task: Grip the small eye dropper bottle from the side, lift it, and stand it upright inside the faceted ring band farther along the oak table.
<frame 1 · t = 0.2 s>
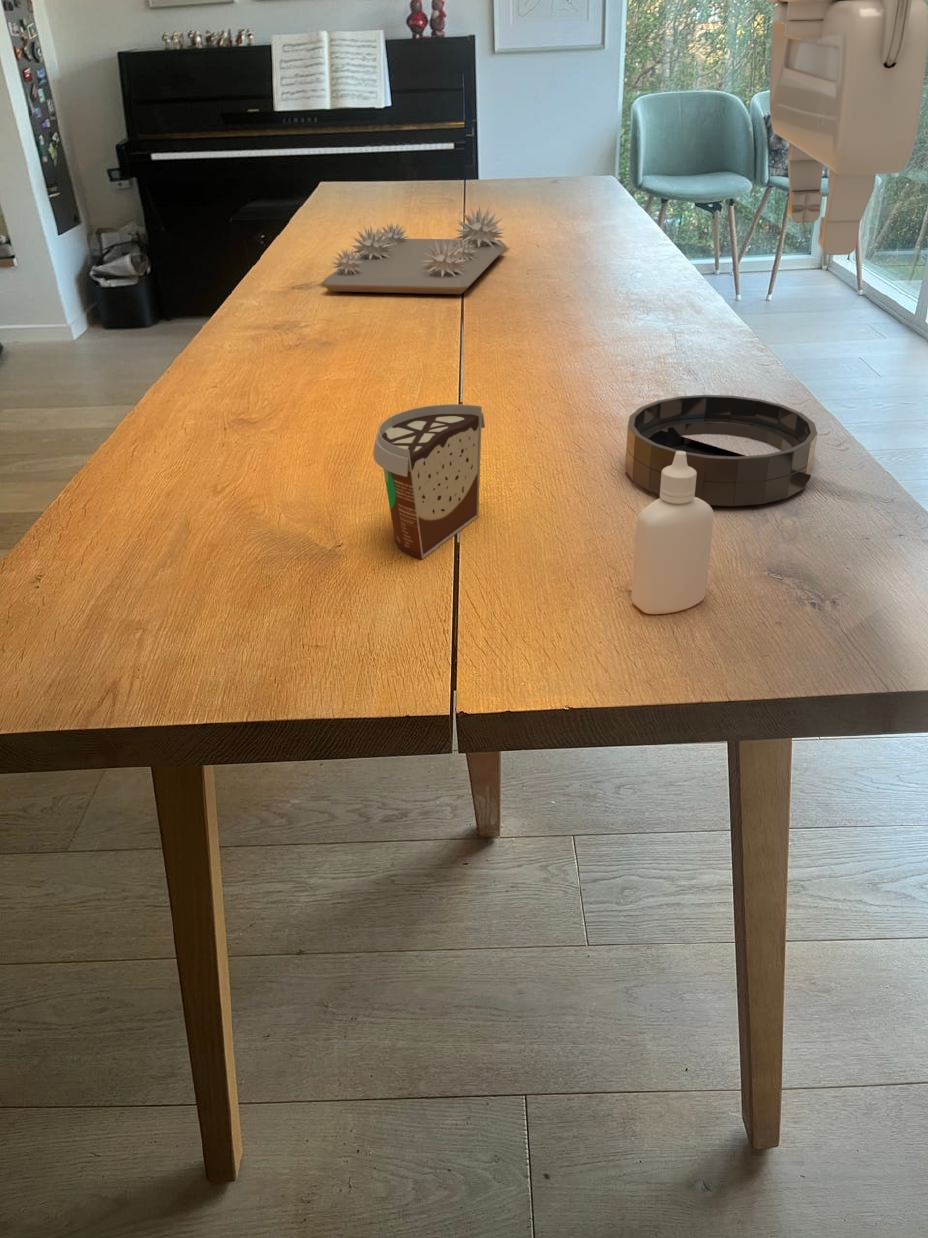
hand: (817, 235, 59), 26 cm above the table, tool pointing down, fingers open, 8 cm apart
faceted ring band: (715, 473, 95), on the table
eye dropper bottle: (667, 604, 75), on the table
food container: (421, 532, 87), on the table
decorative tray: (422, 275, 177), on the table
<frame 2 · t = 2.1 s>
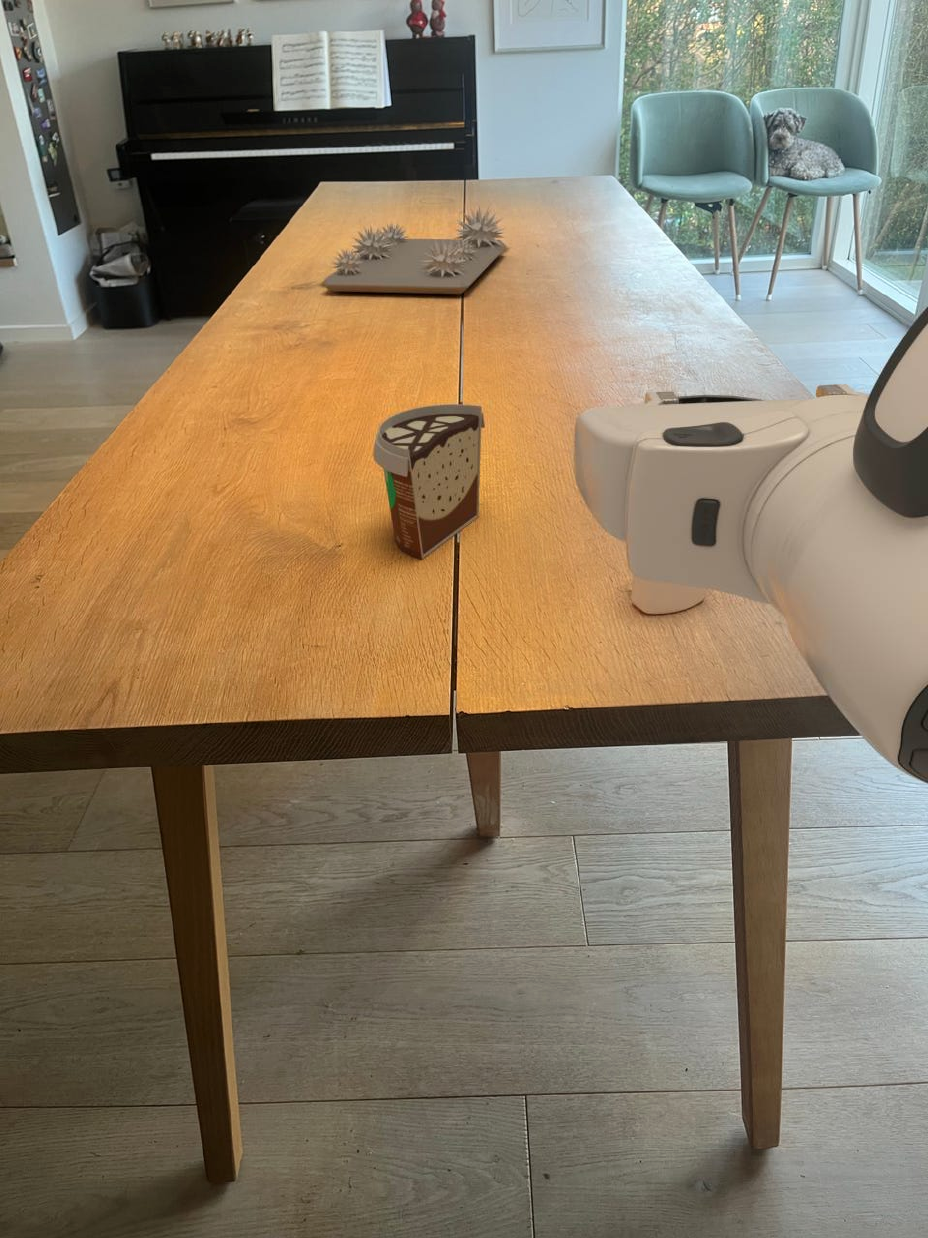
hand: (742, 401, 54), 20 cm above the table, tool horizontal, fingers open, 8 cm apart
nothing on the table moved.
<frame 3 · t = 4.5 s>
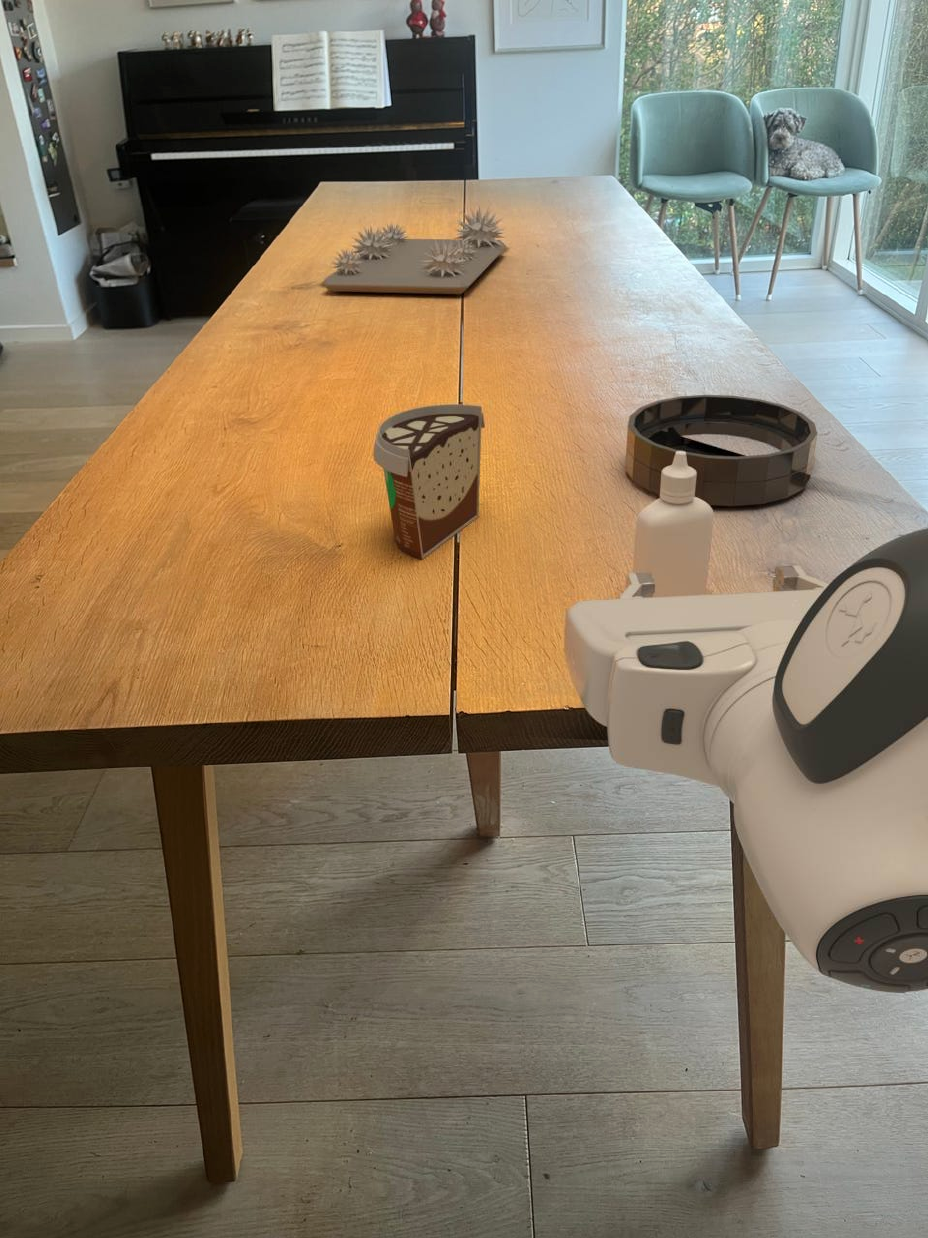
hand: (711, 578, 62), 7 cm above the table, tool horizontal, fingers open, 8 cm apart
nothing on the table moved.
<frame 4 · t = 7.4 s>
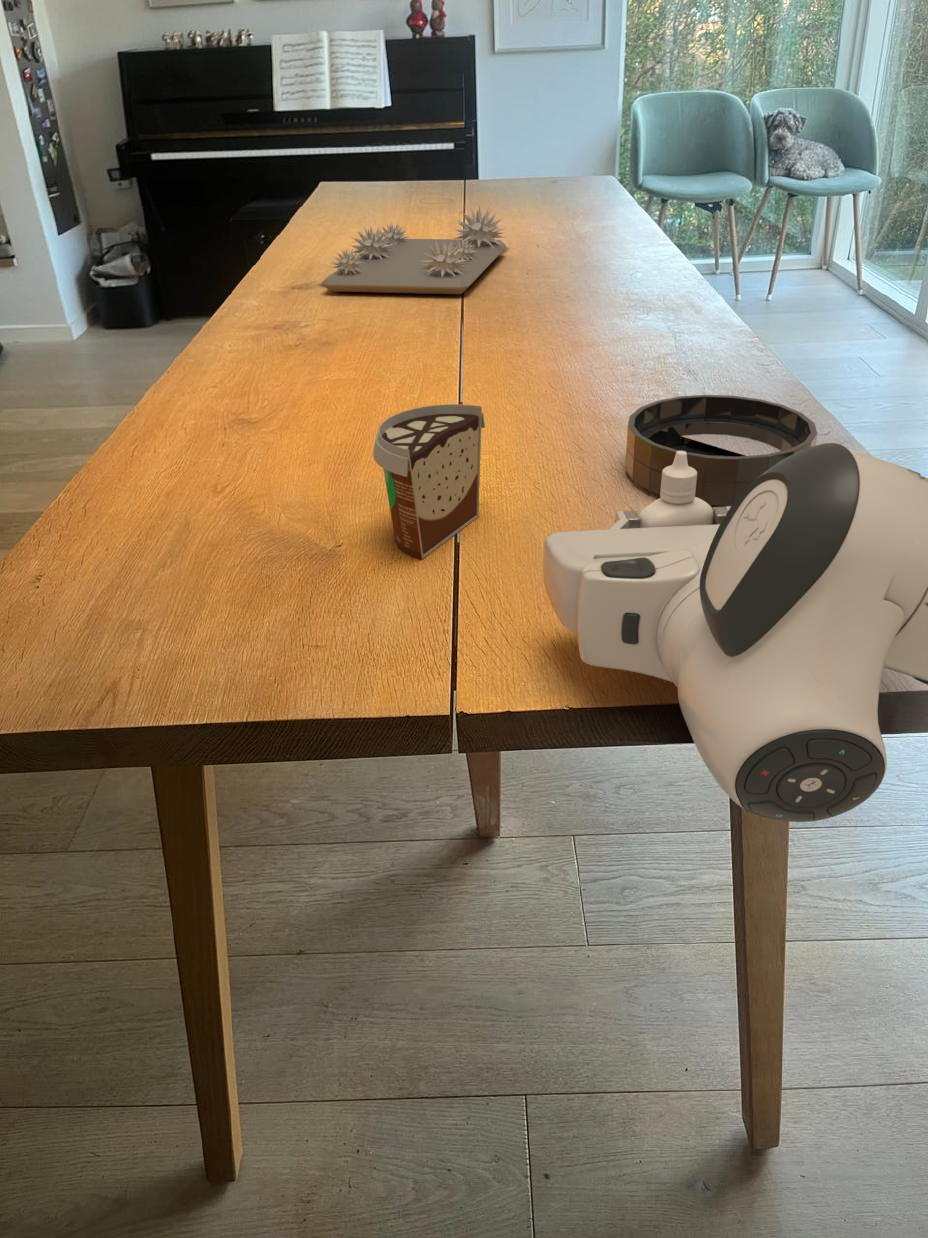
hand: (671, 517, 72), 7 cm above the table, tool horizontal, fingers closed on eye dropper bottle, 5 cm apart
eye dropper bottle: (667, 604, 75), on the table, touching gripper
everything else where it was.
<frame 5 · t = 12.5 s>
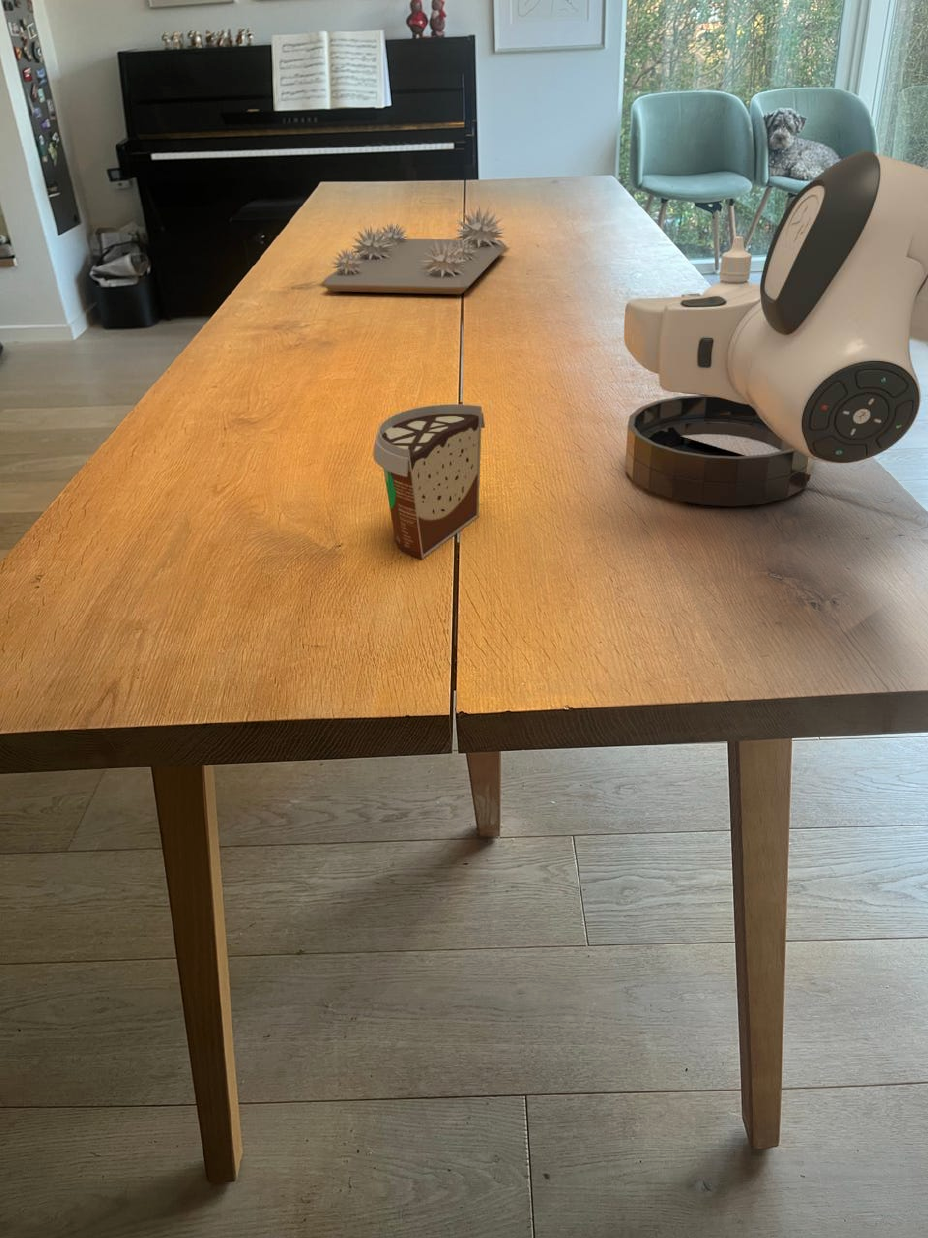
hand: (728, 301, 85), 17 cm above the table, tool horizontal, fingers closed on eye dropper bottle, 5 cm apart
eye dropper bottle: (723, 381, 88), point 10 cm above the table, touching gripper
everything else where it was.
when the fingers open (7 cm above the table, at t = 16.1 s): eye dropper bottle stays where it is, resting on faceted ring band.
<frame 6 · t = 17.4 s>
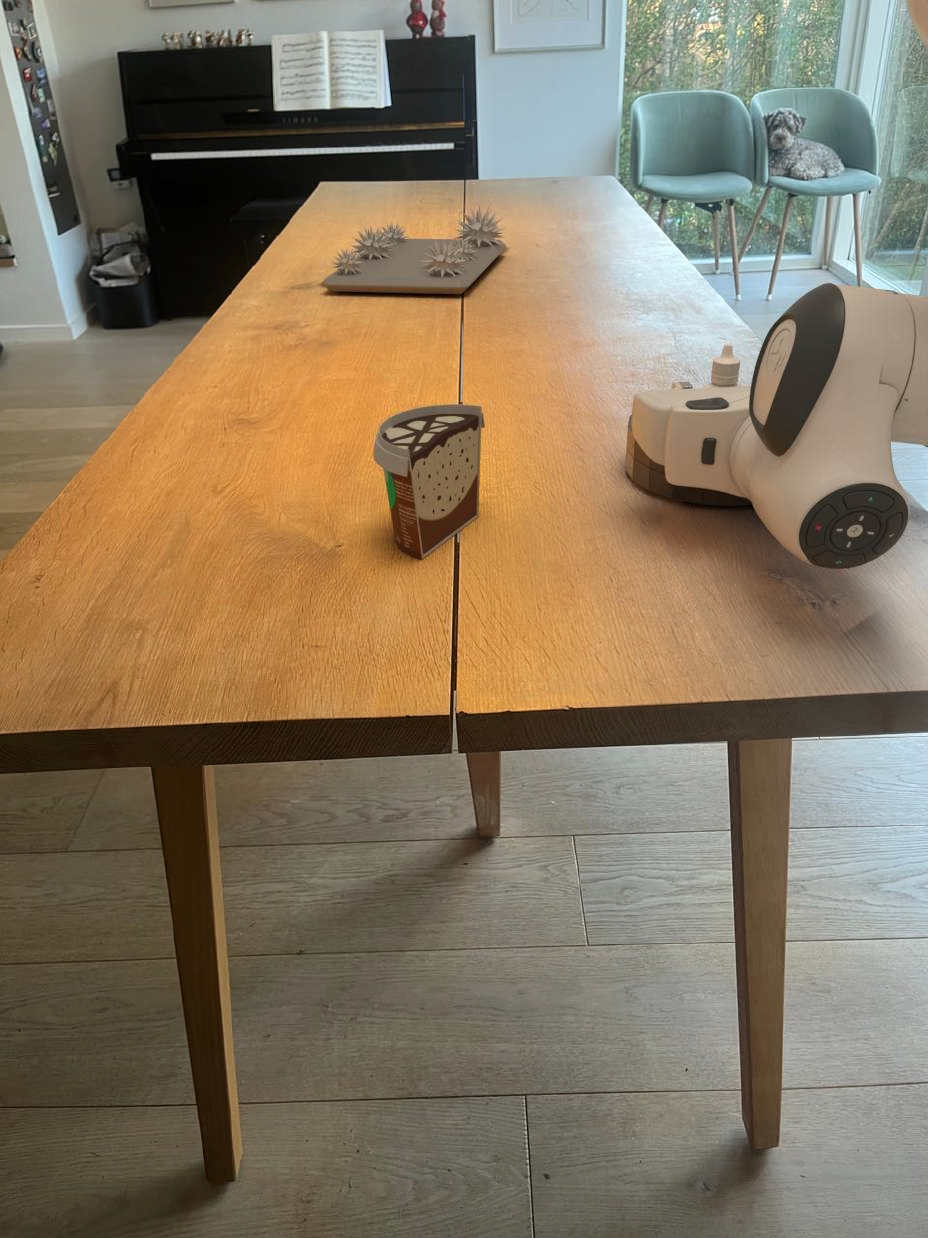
hand: (731, 387, 89), 9 cm above the table, tool horizontal, fingers open, 8 cm apart
eye dropper bottle: (714, 470, 95), resting on faceted ring band
everything else where it was.
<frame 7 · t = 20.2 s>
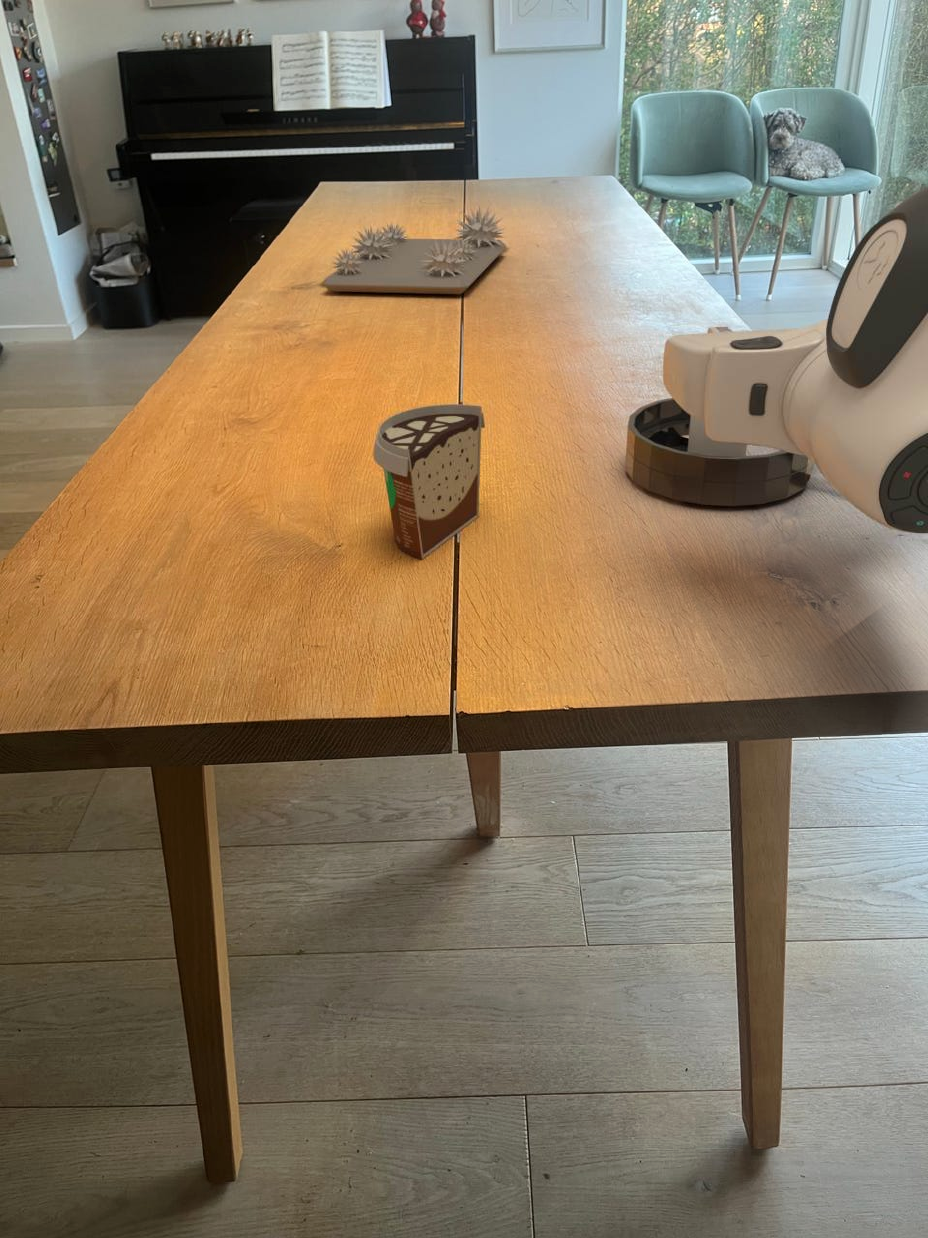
hand: (775, 333, 78), 16 cm above the table, tool horizontal, fingers open, 8 cm apart
nothing on the table moved.
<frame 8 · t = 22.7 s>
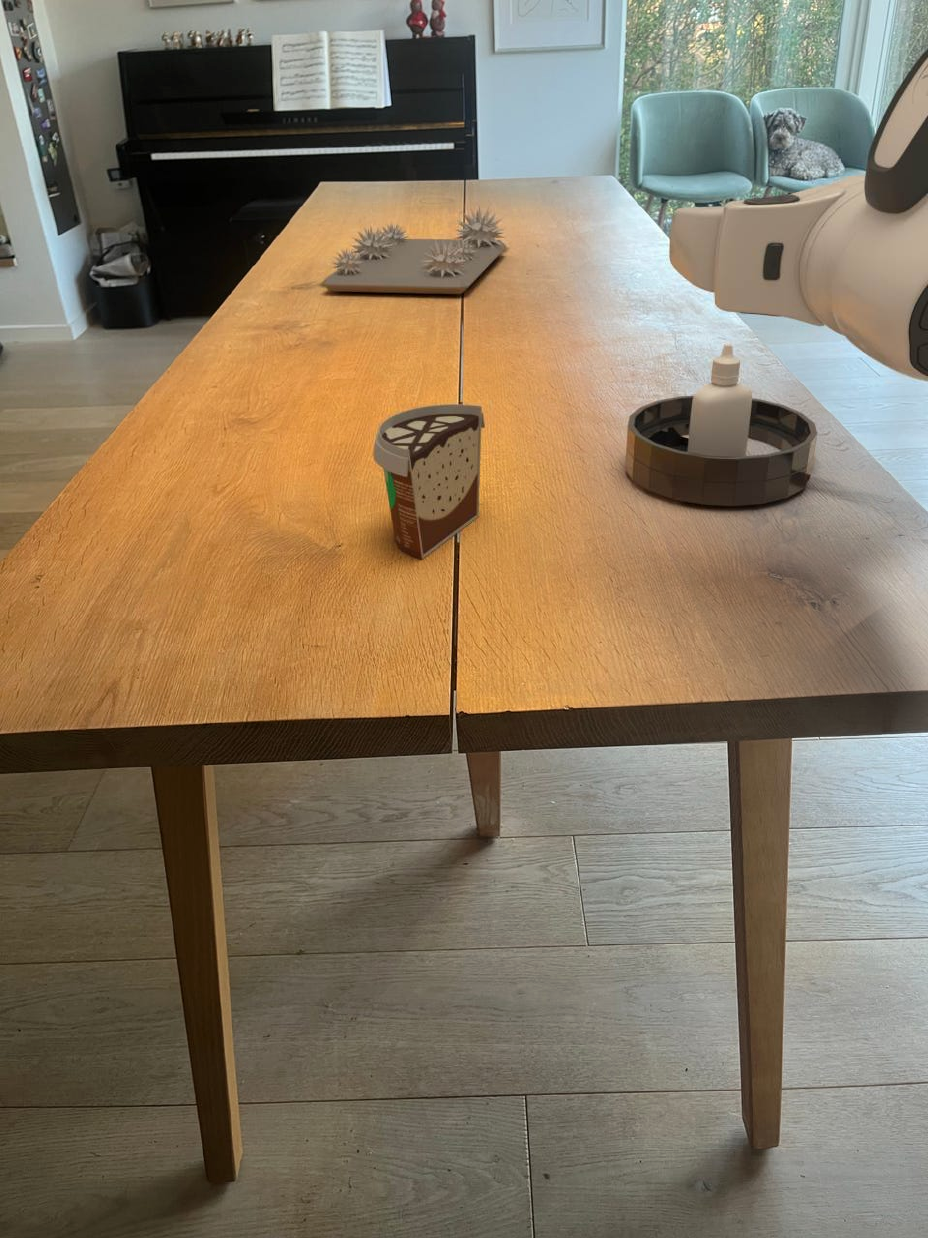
hand: (788, 217, 73), 25 cm above the table, tool horizontal, fingers open, 8 cm apart
nothing on the table moved.
at the end: eye dropper bottle inside the target area in the faceted ring band (0.1 cm from its centre), point 0.3 cm above the faceted ring band's base; eye dropper bottle tilted 0°; the gripper is holding nothing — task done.
